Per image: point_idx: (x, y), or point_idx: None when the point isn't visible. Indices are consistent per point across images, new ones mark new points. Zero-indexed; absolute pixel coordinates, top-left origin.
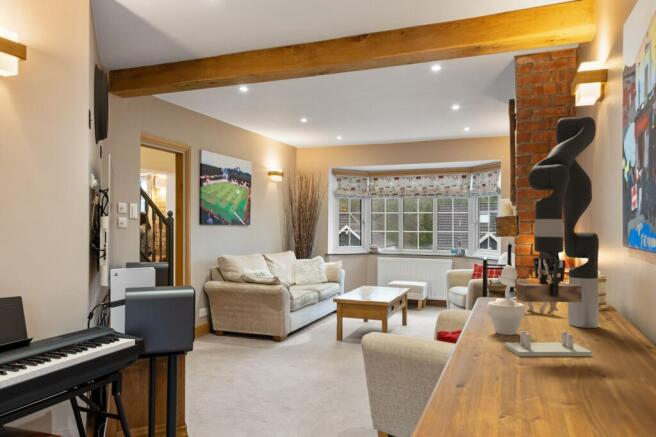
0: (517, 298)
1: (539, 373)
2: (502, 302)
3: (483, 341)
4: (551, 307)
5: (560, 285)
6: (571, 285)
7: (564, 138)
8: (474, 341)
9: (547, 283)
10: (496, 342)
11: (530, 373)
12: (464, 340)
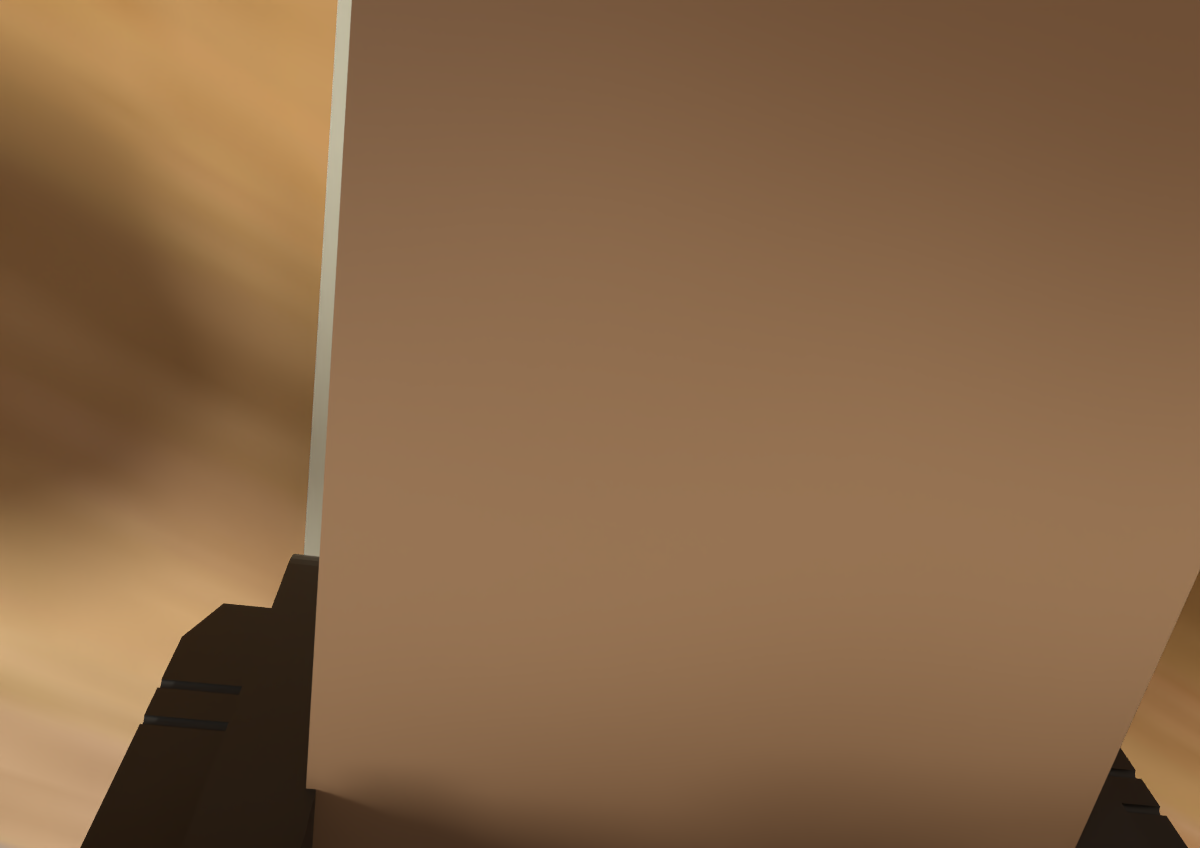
0: None
1: (1177, 716)
2: None
3: (52, 683)
4: None
5: (1022, 692)
6: (1195, 197)
7: None
8: (57, 764)
9: (313, 819)
10: (97, 576)
11: (1149, 773)
12: (14, 833)
